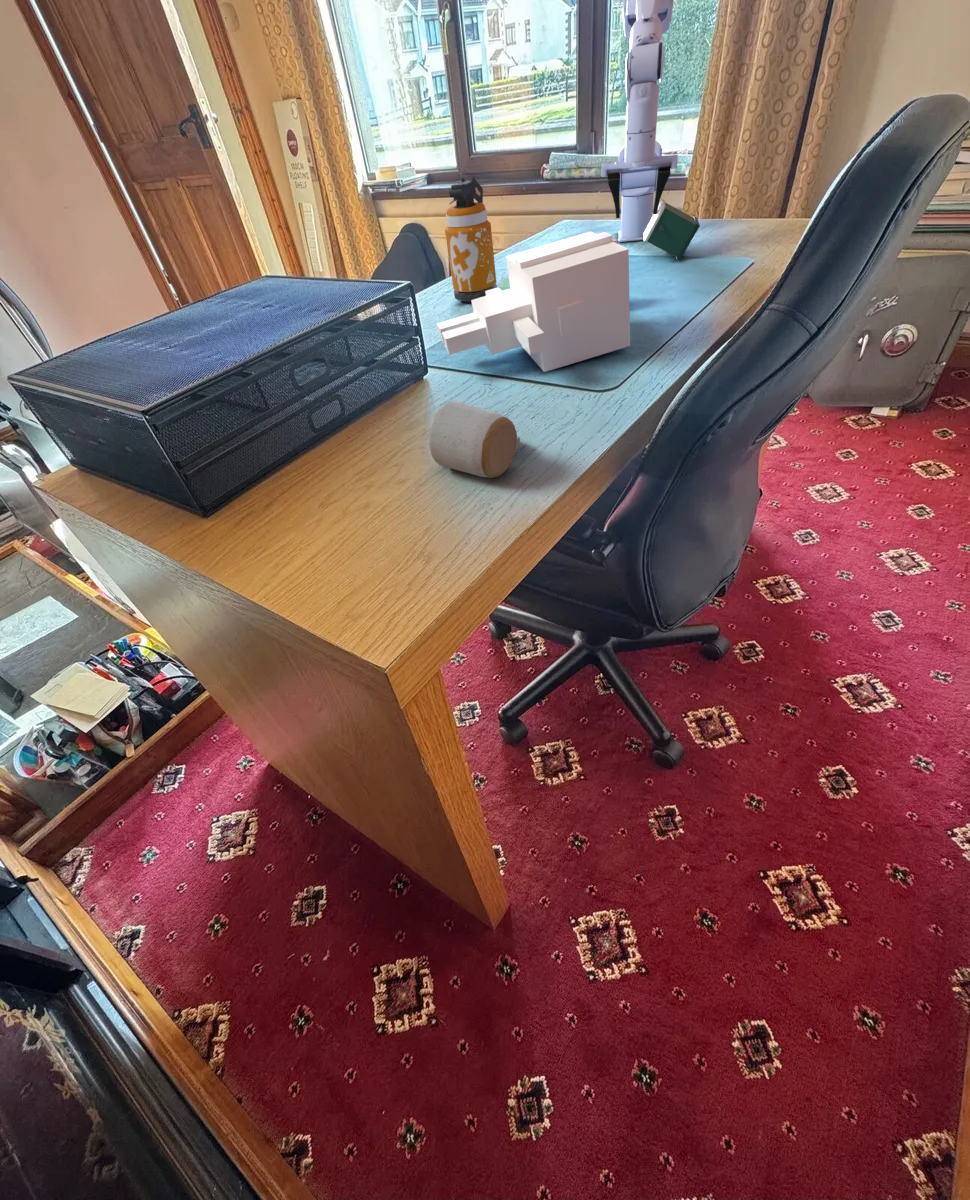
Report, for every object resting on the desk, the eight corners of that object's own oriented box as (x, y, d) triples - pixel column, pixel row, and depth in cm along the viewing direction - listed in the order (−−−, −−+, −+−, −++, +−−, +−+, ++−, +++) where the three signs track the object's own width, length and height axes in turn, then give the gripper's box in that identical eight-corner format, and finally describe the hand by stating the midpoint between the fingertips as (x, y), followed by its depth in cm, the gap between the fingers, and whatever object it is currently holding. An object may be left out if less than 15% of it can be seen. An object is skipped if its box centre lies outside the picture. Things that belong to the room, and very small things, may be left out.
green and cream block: (643, 242, 117) (663, 205, 112) (643, 233, 122) (661, 198, 118) (679, 261, 118) (700, 226, 113) (677, 251, 124) (697, 217, 119)
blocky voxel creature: (440, 358, 100) (589, 313, 101) (470, 416, 82) (650, 361, 83) (417, 267, 90) (582, 218, 91) (446, 310, 72) (651, 249, 73)
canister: (448, 304, 116) (430, 186, 102) (469, 287, 123) (454, 175, 110) (488, 304, 113) (474, 182, 99) (507, 287, 120) (497, 171, 106)
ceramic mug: (489, 492, 64) (482, 429, 58) (433, 477, 68) (421, 416, 62) (536, 449, 70) (533, 388, 64) (482, 437, 74) (475, 379, 68)
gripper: (601, 139, 107) (600, 223, 116) (681, 128, 104) (673, 215, 113) (602, 134, 112) (601, 215, 121) (679, 124, 108) (672, 208, 118)
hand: (636, 215), depth 117 cm, fingers open, 7 cm apart
